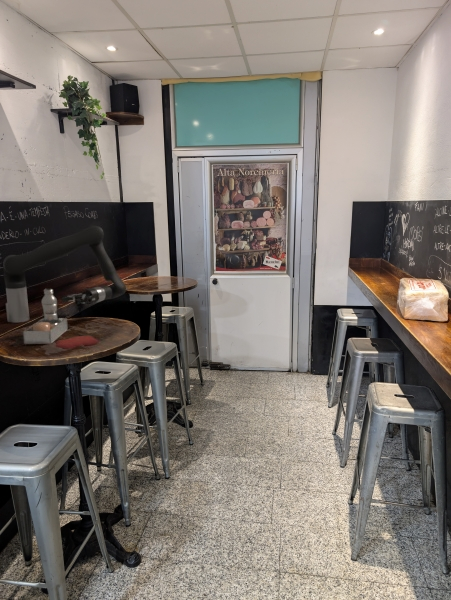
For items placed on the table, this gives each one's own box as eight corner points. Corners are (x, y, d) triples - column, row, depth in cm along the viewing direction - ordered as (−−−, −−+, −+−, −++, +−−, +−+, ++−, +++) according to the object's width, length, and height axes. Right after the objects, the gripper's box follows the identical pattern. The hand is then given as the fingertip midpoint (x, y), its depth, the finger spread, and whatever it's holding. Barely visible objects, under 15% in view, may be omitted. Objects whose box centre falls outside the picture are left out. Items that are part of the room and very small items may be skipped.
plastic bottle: (54, 335, 188) (51, 291, 184) (41, 334, 189) (37, 290, 185) (62, 331, 194) (59, 288, 190) (49, 330, 195) (46, 288, 191)
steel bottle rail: (24, 345, 176) (22, 331, 175) (44, 330, 197) (42, 318, 196) (51, 345, 176) (49, 331, 175) (67, 330, 197) (66, 318, 196)
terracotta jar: (31, 342, 178) (30, 326, 176) (37, 337, 184) (36, 322, 183) (47, 342, 178) (46, 326, 177) (53, 337, 185) (51, 322, 183)
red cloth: (62, 353, 168) (62, 348, 167) (49, 344, 178) (49, 340, 177) (103, 344, 179) (103, 339, 179) (89, 336, 189) (88, 332, 189)
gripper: (83, 286, 215) (57, 292, 201) (104, 289, 208) (79, 295, 194) (84, 301, 216) (58, 307, 202) (105, 304, 210) (80, 310, 196)
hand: (68, 301), depth 198 cm, fingers open, 8 cm apart
